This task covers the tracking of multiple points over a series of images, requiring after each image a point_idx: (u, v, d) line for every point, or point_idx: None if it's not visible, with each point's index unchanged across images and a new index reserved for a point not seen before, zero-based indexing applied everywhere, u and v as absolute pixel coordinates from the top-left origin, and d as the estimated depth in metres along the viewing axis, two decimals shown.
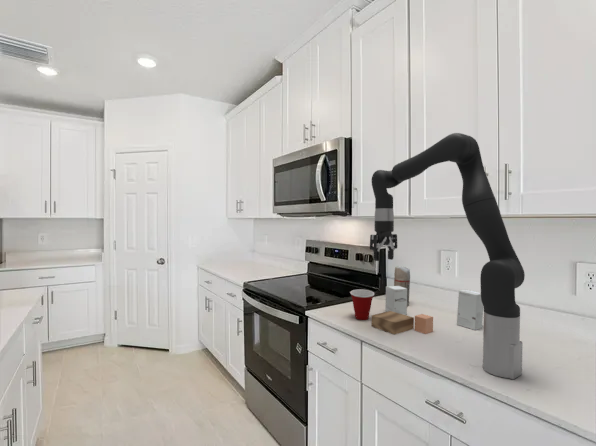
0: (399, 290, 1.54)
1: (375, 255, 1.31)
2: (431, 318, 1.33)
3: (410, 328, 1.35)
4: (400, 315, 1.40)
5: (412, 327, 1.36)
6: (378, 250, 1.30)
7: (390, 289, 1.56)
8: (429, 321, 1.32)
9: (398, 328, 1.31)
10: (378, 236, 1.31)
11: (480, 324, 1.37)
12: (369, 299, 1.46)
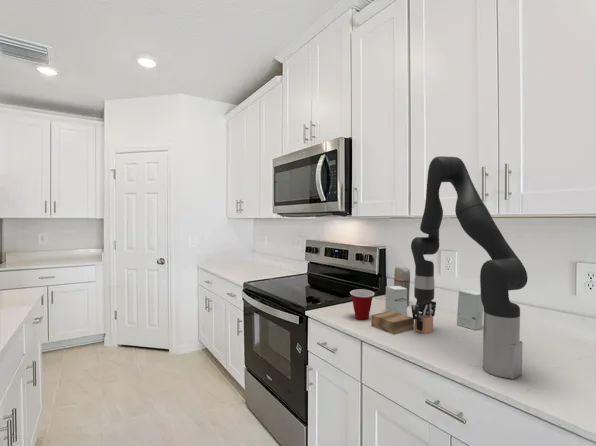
0: (399, 290, 1.54)
1: (418, 325, 1.31)
2: (431, 318, 1.33)
3: (410, 328, 1.35)
4: (400, 315, 1.40)
5: (412, 327, 1.35)
6: (421, 320, 1.31)
7: (390, 289, 1.56)
8: (429, 321, 1.32)
9: (397, 328, 1.31)
10: (419, 305, 1.31)
11: (480, 324, 1.37)
12: (369, 299, 1.46)
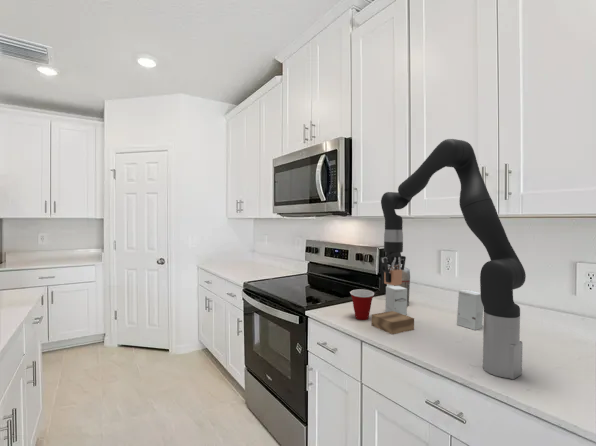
0: (399, 290, 1.54)
1: (387, 277, 1.35)
2: (400, 271, 1.36)
3: (410, 329, 1.34)
4: (400, 315, 1.39)
5: (412, 328, 1.35)
6: (390, 272, 1.34)
7: (390, 289, 1.56)
8: (398, 273, 1.36)
9: (396, 328, 1.31)
10: (388, 257, 1.34)
11: (480, 324, 1.37)
12: (369, 299, 1.46)
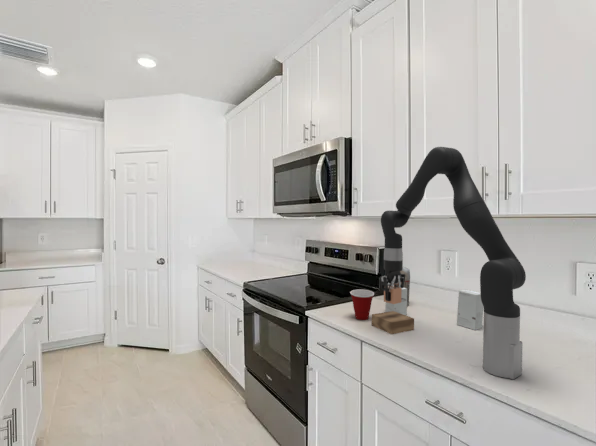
0: None
1: (387, 295, 1.35)
2: (399, 289, 1.36)
3: (410, 329, 1.34)
4: (401, 315, 1.39)
5: (412, 328, 1.35)
6: (390, 291, 1.35)
7: None
8: (398, 291, 1.36)
9: (395, 328, 1.31)
10: (387, 276, 1.34)
11: (480, 324, 1.37)
12: (369, 299, 1.46)
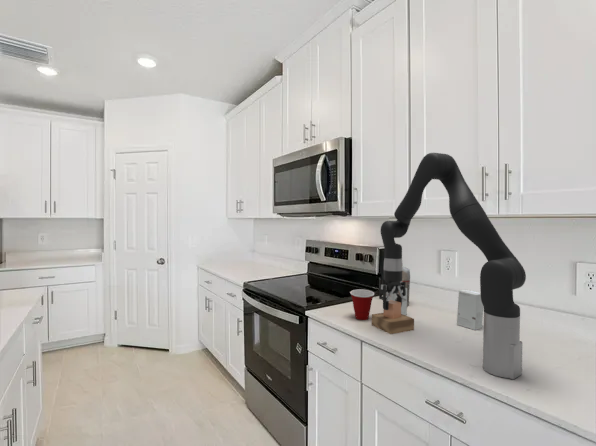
0: None
1: (384, 304, 1.34)
2: (399, 303, 1.36)
3: (409, 329, 1.34)
4: (401, 315, 1.39)
5: (412, 328, 1.34)
6: (387, 300, 1.34)
7: None
8: (397, 306, 1.36)
9: (394, 329, 1.31)
10: (387, 286, 1.34)
11: (480, 324, 1.37)
12: (369, 299, 1.46)
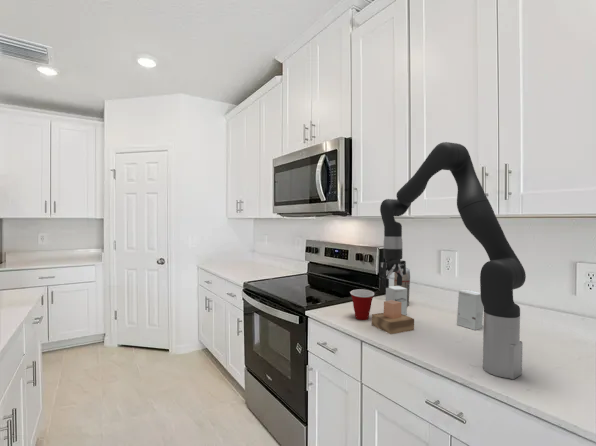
0: (399, 290, 1.54)
1: (384, 282, 1.34)
2: (399, 303, 1.37)
3: (410, 329, 1.34)
4: (401, 315, 1.39)
5: (412, 328, 1.34)
6: (387, 277, 1.34)
7: (390, 289, 1.56)
8: (398, 306, 1.36)
9: (394, 329, 1.31)
10: (387, 264, 1.34)
11: (480, 324, 1.37)
12: (369, 299, 1.46)
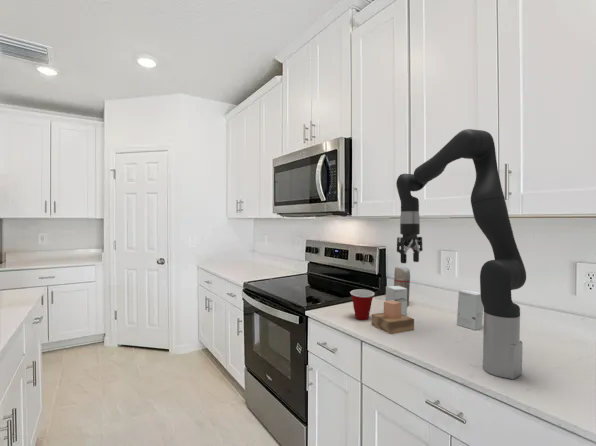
0: (399, 290, 1.54)
1: (402, 258, 1.32)
2: (399, 304, 1.36)
3: (409, 329, 1.34)
4: (401, 315, 1.39)
5: (412, 328, 1.34)
6: (405, 253, 1.32)
7: (390, 289, 1.56)
8: (398, 306, 1.36)
9: (394, 329, 1.31)
10: (405, 239, 1.32)
11: (480, 324, 1.37)
12: (369, 299, 1.46)
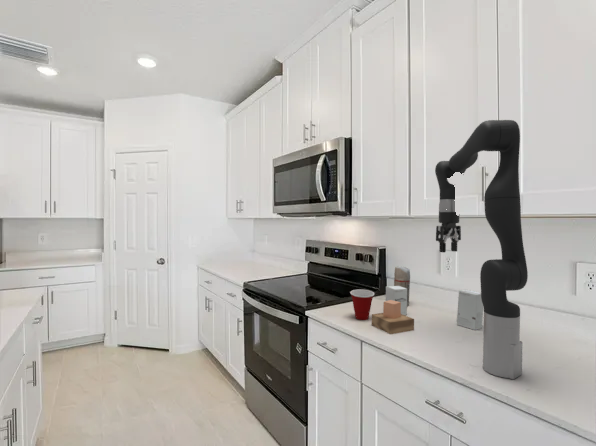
0: (399, 290, 1.54)
1: (441, 246, 1.29)
2: (399, 303, 1.37)
3: (409, 329, 1.34)
4: (401, 315, 1.39)
5: (412, 328, 1.34)
6: (445, 241, 1.29)
7: (390, 289, 1.56)
8: (397, 306, 1.36)
9: (394, 329, 1.31)
10: (444, 227, 1.29)
11: (480, 324, 1.37)
12: (369, 299, 1.46)
